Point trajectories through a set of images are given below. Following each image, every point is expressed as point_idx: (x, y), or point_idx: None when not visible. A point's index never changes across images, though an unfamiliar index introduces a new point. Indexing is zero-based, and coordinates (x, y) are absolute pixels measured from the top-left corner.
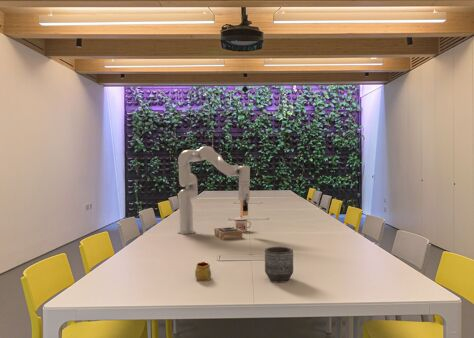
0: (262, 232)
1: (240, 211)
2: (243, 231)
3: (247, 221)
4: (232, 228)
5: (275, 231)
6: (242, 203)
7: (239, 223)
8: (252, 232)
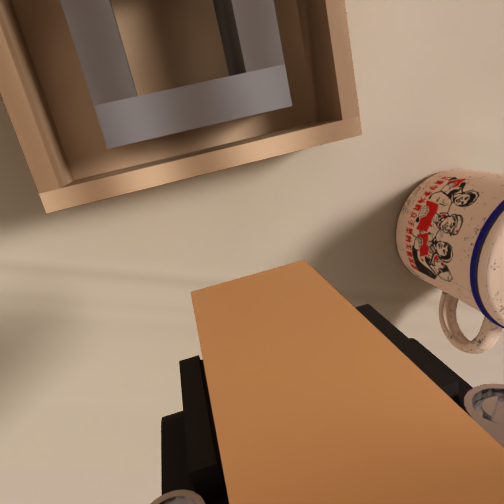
0: None
1: (329, 286)
2: (397, 245)
3: (489, 324)
4: (192, 94)
5: None
6: (242, 500)
7: (459, 224)
8: None
